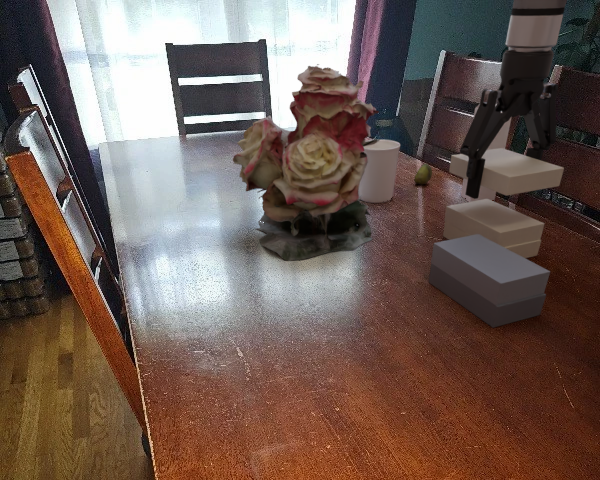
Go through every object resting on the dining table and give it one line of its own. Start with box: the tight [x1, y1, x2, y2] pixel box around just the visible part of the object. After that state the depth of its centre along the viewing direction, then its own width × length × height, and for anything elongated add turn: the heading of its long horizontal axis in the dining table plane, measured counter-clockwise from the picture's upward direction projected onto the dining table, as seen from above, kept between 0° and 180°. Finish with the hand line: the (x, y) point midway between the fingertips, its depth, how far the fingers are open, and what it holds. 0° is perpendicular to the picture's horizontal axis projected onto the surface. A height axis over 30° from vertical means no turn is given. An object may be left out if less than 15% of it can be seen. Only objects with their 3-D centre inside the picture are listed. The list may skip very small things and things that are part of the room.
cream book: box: [448, 148, 565, 197], centre depth 91 cm, size 16×12×3 cm
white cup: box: [358, 139, 401, 204], centre depth 121 cm, size 10×10×12 cm
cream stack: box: [442, 199, 545, 259], centre depth 98 cm, size 16×10×6 cm, turn 23°
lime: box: [413, 163, 433, 185], centre depth 131 cm, size 4×5×5 cm
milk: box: [460, 103, 513, 202], centre depth 115 cm, size 6×6×22 cm
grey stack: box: [428, 234, 551, 329], centre depth 81 cm, size 17×9×7 cm, turn 23°
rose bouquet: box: [232, 63, 381, 261], centre depth 97 cm, size 26×29×30 cm
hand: (498, 191), depth 94 cm, fingers closed on cream book, 11 cm apart
